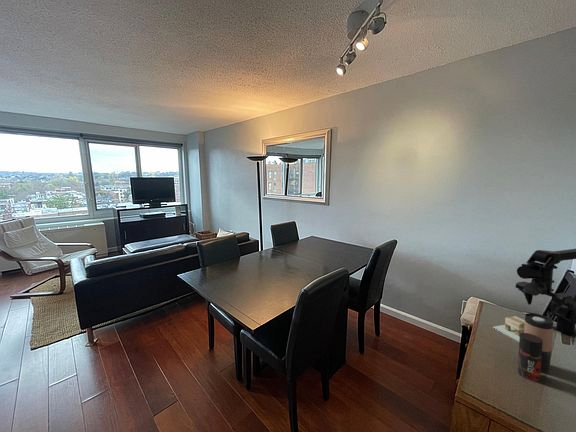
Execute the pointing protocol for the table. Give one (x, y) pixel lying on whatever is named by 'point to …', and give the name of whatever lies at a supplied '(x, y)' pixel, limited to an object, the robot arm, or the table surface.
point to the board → (508, 332)
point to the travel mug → (541, 335)
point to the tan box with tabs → (514, 324)
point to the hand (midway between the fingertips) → (540, 308)
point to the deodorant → (530, 356)
